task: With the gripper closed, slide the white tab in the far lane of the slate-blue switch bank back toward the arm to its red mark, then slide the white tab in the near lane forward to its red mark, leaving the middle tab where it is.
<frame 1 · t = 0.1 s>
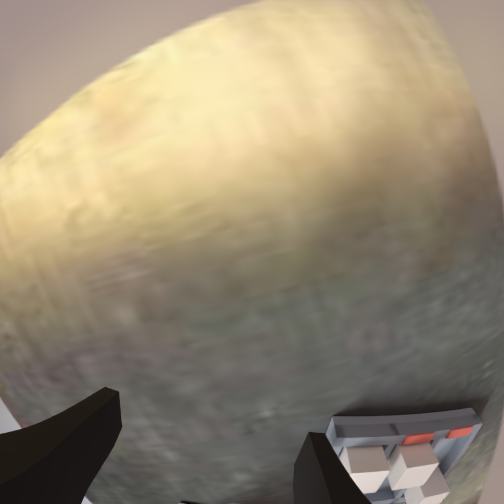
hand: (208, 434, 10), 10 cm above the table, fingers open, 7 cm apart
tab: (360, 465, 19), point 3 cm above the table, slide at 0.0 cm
switch bank: (388, 456, 22), on the table
tab mid: (408, 460, 19), point 3 cm above the table, slide at 0.0 cm
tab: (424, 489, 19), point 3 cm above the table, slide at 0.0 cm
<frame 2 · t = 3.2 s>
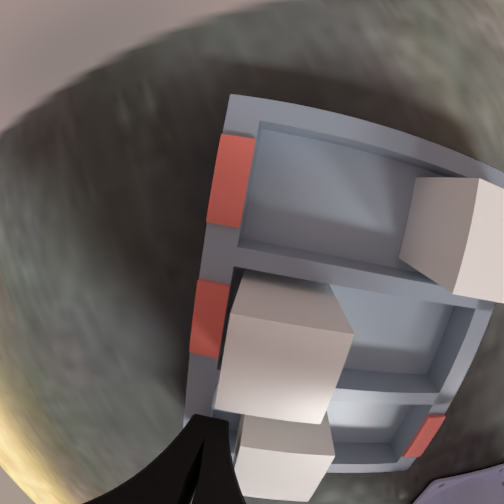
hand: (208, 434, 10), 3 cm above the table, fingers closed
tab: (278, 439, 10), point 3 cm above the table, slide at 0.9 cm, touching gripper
switch bank: (343, 315, 12), on the table
tab mid: (279, 340, 9), point 3 cm above the table, slide at 0.0 cm
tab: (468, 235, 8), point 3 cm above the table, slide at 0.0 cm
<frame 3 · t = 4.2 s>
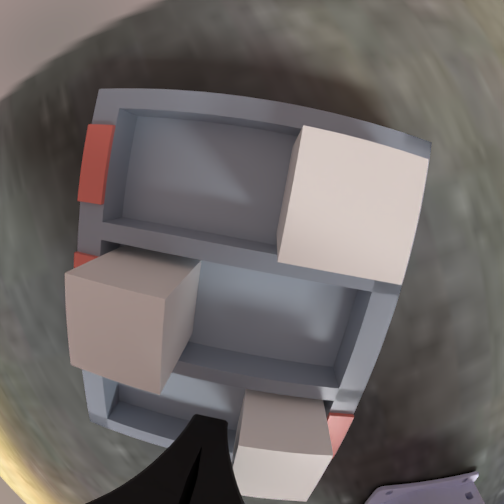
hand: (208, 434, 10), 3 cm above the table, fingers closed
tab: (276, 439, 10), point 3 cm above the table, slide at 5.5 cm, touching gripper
switch bank: (231, 295, 12), on the table
tab mid: (138, 309, 10), point 3 cm above the table, slide at 0.0 cm
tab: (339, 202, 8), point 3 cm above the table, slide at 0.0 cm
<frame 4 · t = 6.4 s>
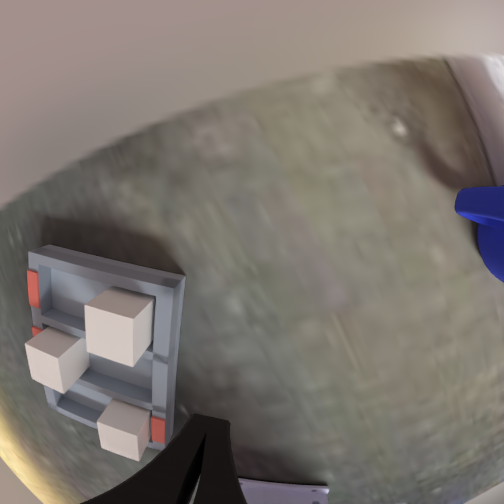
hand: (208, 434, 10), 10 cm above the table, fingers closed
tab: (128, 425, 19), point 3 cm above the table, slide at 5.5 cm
switch bank: (108, 348, 21), on the table
tab mid: (59, 355, 18), point 3 cm above the table, slide at 0.0 cm
mug: (486, 220, 17), on the table
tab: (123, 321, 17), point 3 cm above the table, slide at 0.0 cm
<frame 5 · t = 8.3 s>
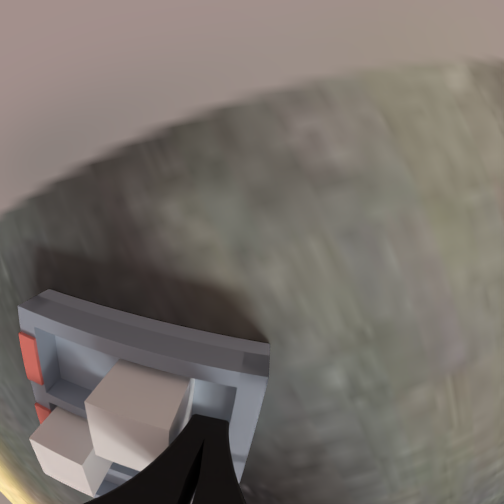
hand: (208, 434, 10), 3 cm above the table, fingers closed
switch bank: (144, 427, 15), on the table
tab mid: (78, 445, 12), point 3 cm above the table, slide at 0.0 cm
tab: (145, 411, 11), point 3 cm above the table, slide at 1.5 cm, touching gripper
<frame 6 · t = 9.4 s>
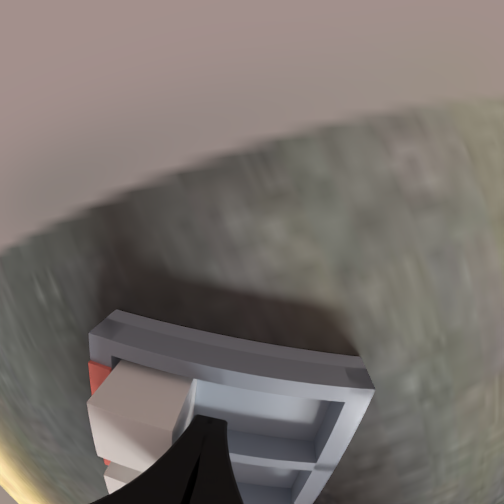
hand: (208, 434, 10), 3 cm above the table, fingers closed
switch bank: (216, 445, 14), on the table
tab mid: (151, 472, 12), point 3 cm above the table, slide at 0.0 cm
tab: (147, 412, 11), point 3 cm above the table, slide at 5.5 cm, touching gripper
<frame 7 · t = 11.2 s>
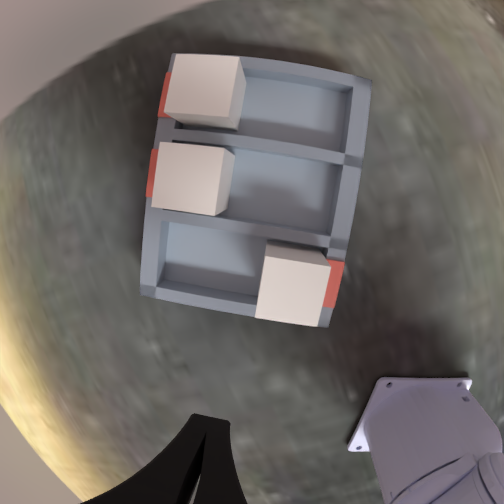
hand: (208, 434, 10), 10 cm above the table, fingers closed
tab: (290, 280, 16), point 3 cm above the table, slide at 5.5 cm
switch bank: (253, 185, 18), on the table
tab mid: (196, 178, 15), point 3 cm above the table, slide at 0.0 cm
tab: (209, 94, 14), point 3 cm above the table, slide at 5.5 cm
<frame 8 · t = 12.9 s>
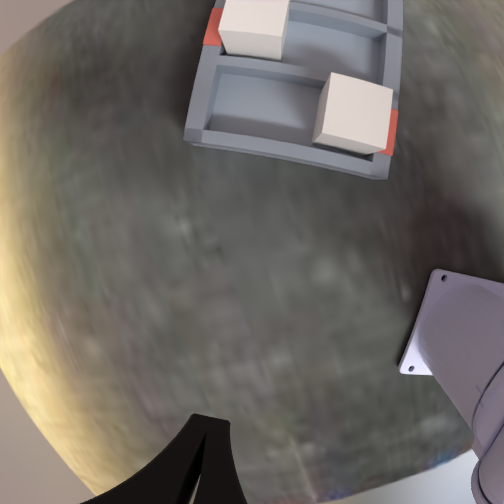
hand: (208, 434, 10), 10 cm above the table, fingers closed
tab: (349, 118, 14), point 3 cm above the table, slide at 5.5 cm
switch bank: (303, 54, 16), on the table
tab mid: (257, 26, 13), point 3 cm above the table, slide at 0.0 cm
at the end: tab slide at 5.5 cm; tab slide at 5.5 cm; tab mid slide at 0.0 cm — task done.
